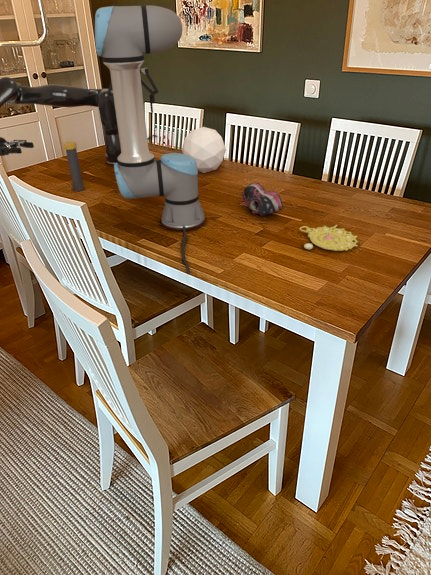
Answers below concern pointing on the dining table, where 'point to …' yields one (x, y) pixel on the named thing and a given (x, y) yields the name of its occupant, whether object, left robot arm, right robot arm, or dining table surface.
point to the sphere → (205, 148)
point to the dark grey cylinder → (75, 169)
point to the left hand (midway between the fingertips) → (27, 147)
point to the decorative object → (330, 238)
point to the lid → (70, 145)
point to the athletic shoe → (261, 200)
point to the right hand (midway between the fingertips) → (135, 113)
